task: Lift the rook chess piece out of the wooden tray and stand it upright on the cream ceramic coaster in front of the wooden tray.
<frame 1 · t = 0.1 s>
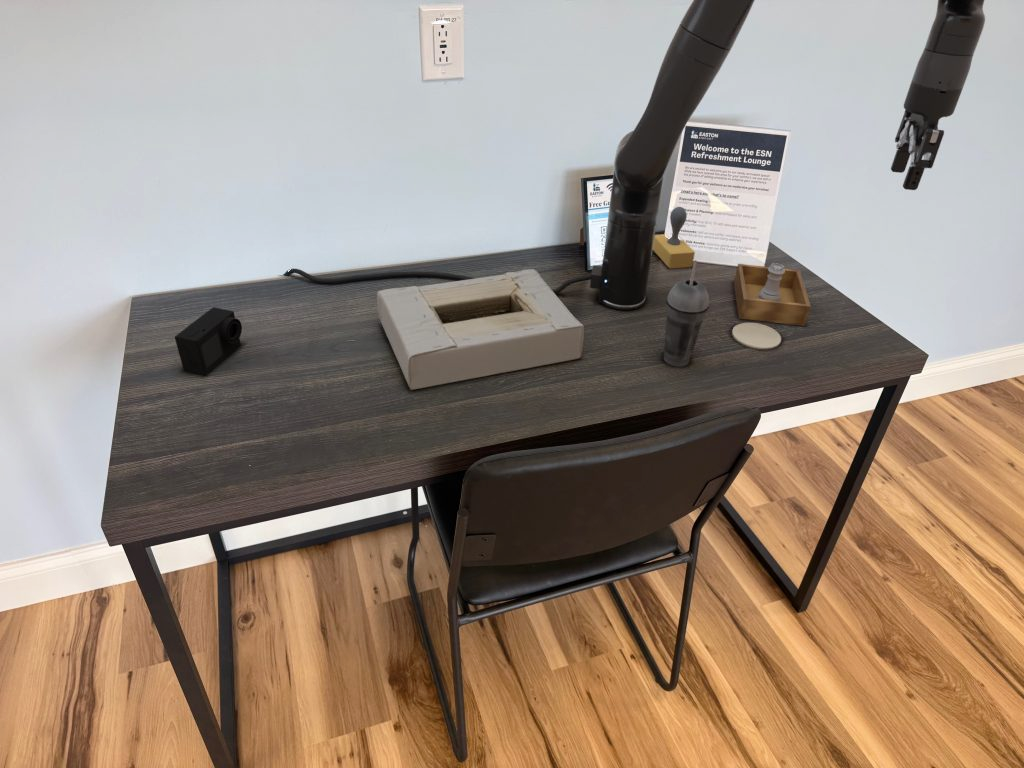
hand: (902, 180, 126), 29 cm above the table, tool pointing down, fingers open, 8 cm apart
digital camera: (216, 359, 127), on the table
wooden tray: (767, 303, 150), on the table
beverage cup: (676, 360, 132), on the table
rubber stamp: (671, 258, 165), on the table
rook chess piece: (767, 302, 149), resting on wooden tray
coaster: (756, 336, 139), on the table
box: (478, 341, 134), on the table
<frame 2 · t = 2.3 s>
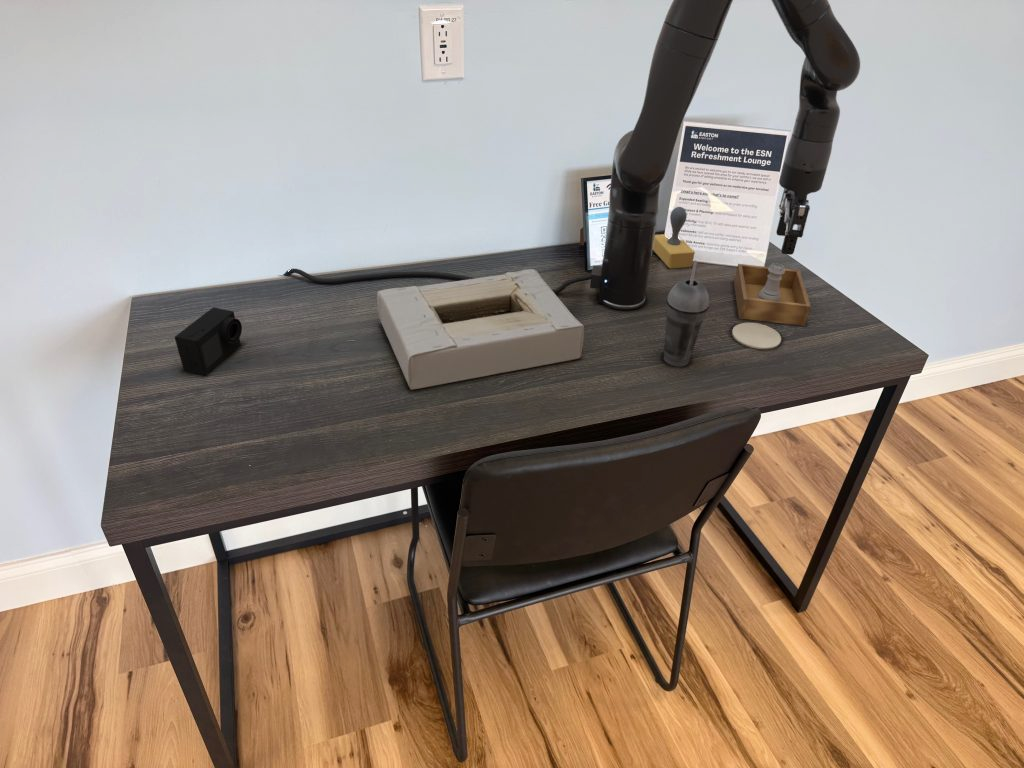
hand: (784, 244, 142), 13 cm above the table, tool pointing down, fingers open, 8 cm apart
nothing on the table moved.
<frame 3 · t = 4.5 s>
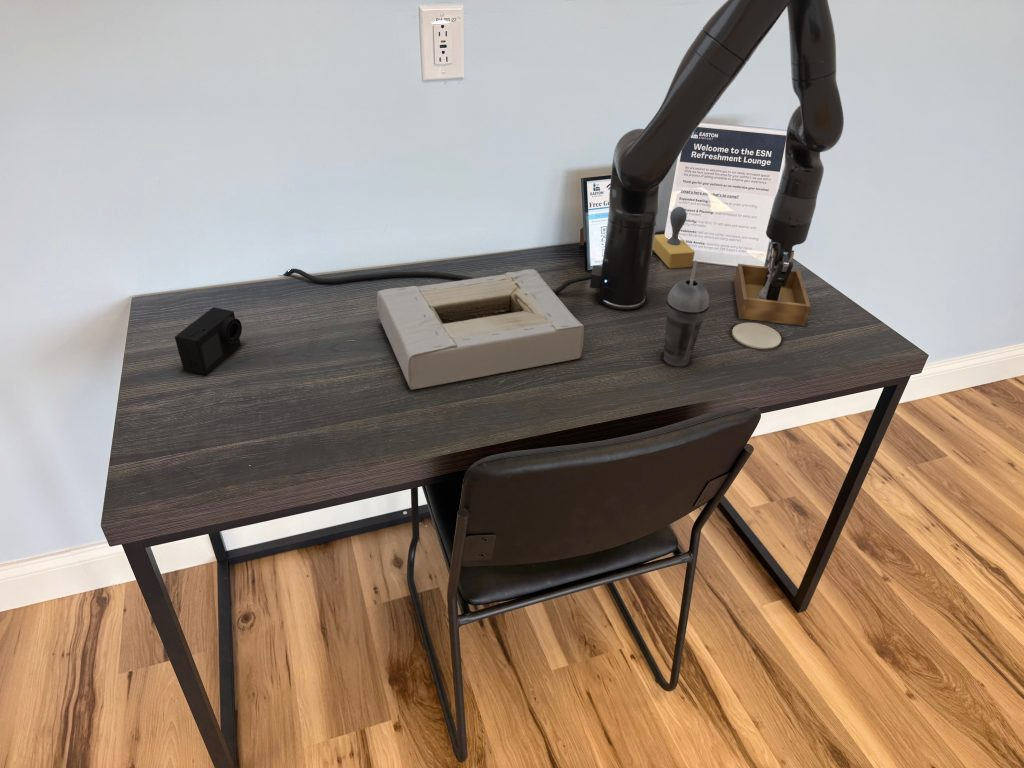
hand: (770, 294, 148), 2 cm above the table, tool pointing down, fingers closed on rook chess piece, 4 cm apart
rook chess piece: (767, 302, 149), resting on wooden tray, touching gripper
everything else where it was.
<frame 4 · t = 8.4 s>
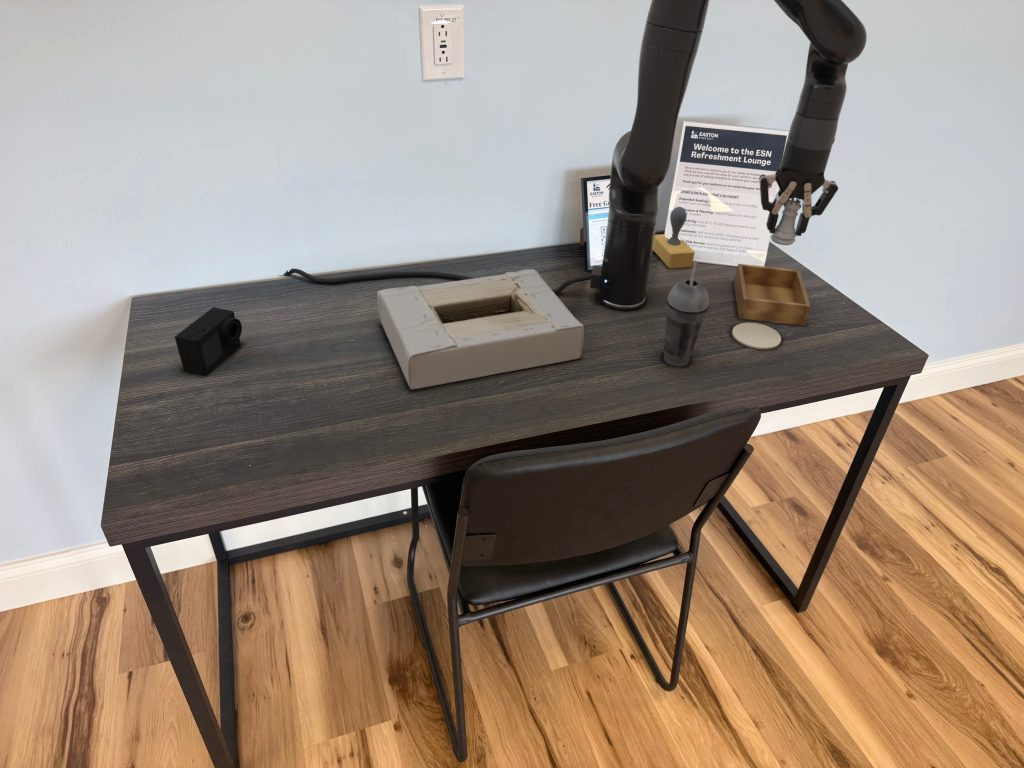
hand: (784, 232, 137), 17 cm above the table, tool pointing down, fingers closed on rook chess piece, 4 cm apart
rook chess piece: (782, 241, 138), point 15 cm above the table, touching gripper
everything else where it was.
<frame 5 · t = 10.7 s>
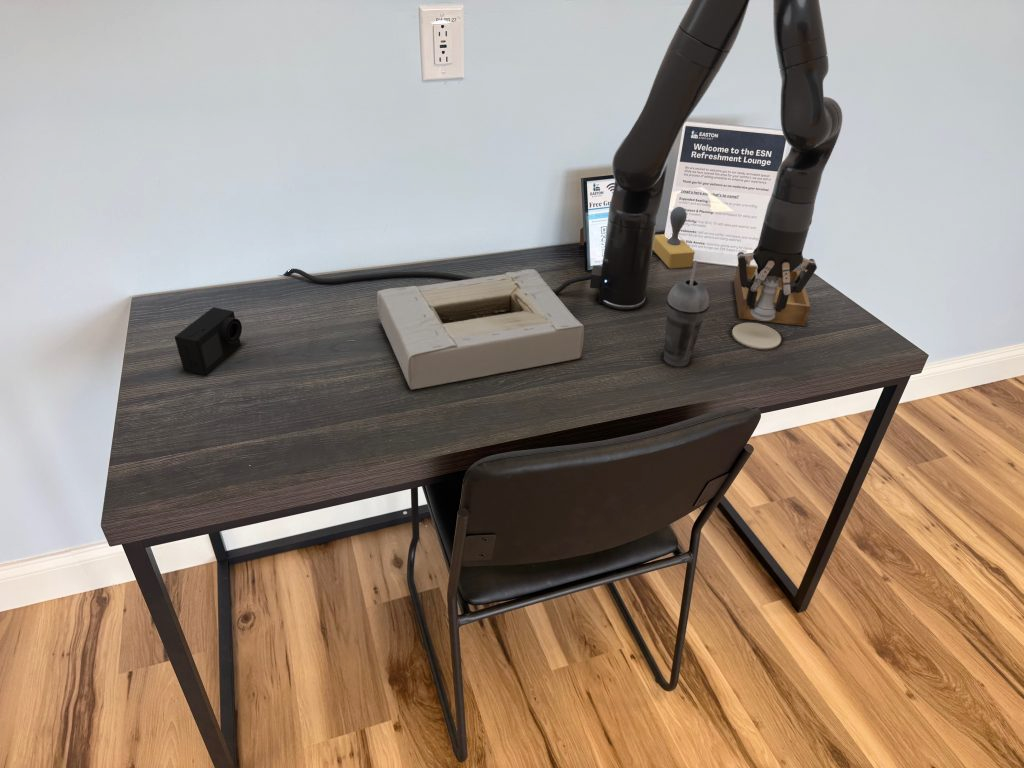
hand: (764, 308, 135), 6 cm above the table, tool pointing down, fingers closed on rook chess piece, 4 cm apart
rook chess piece: (762, 316, 136), point 4 cm above the table, touching gripper
everything else where it was.
when the fingers open (2 cm above the table, at t = 12.3 s): rook chess piece stays where it is, resting on coaster.
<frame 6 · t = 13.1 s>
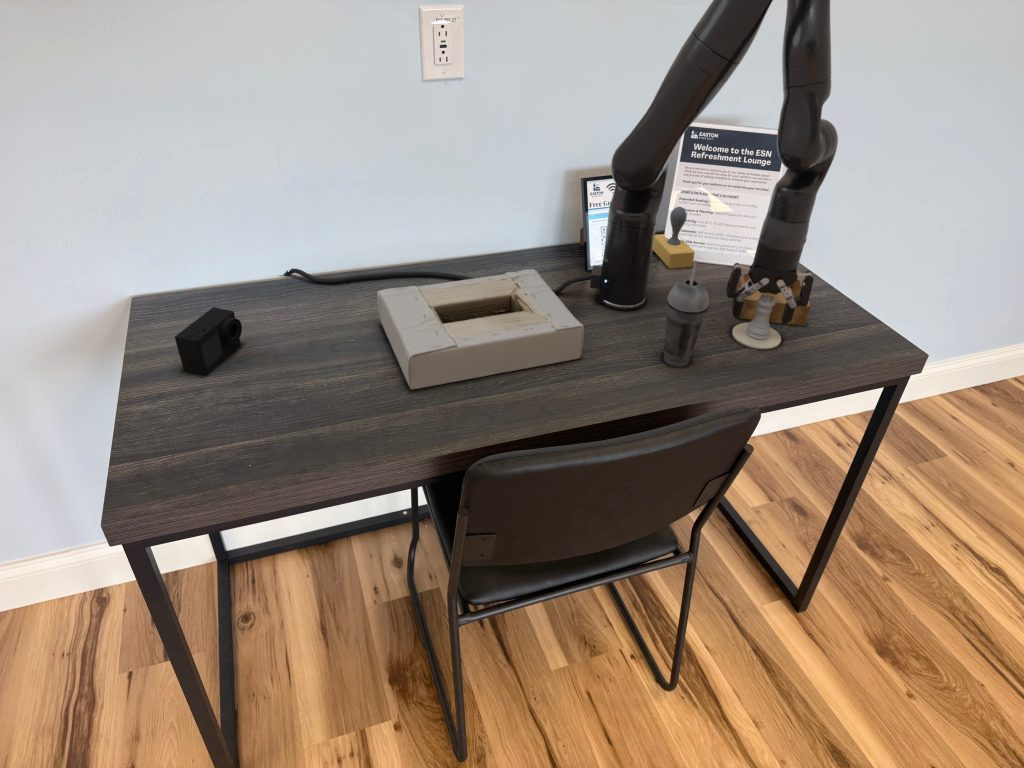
hand: (760, 319, 137), 4 cm above the table, tool pointing down, fingers open, 8 cm apart
rook chess piece: (757, 335, 139), resting on coaster
everything else where it was.
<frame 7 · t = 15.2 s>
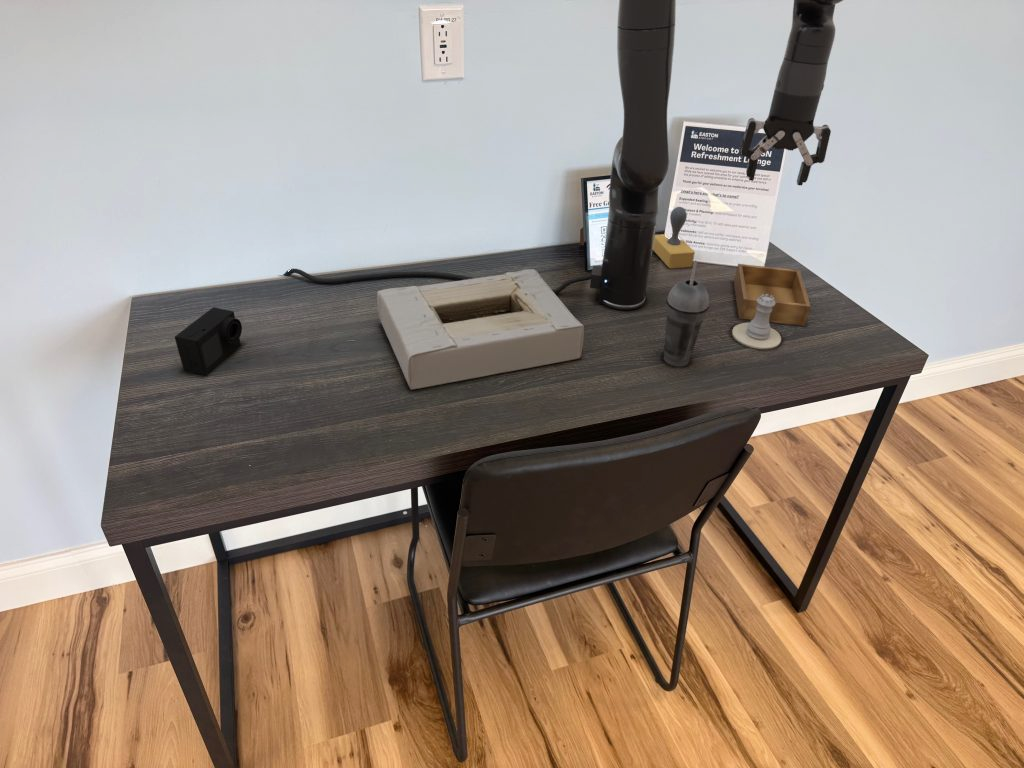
hand: (774, 181, 133), 26 cm above the table, tool pointing down, fingers open, 8 cm apart
nothing on the table moved.
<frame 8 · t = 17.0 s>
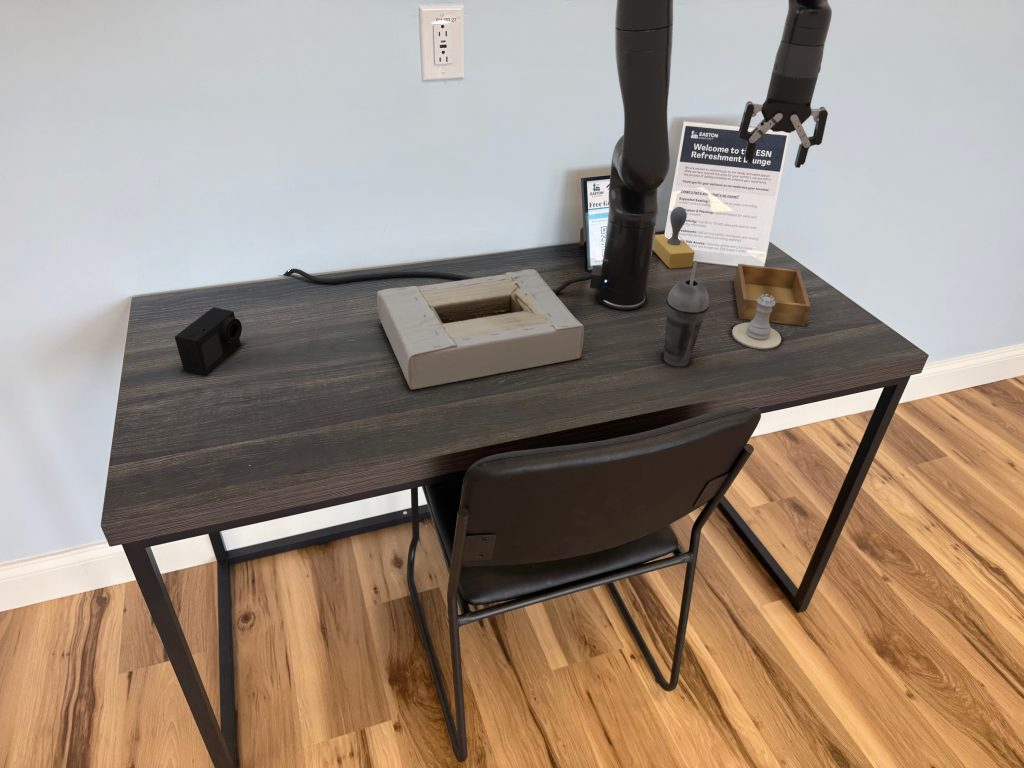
hand: (772, 164, 134), 28 cm above the table, tool pointing down, fingers open, 8 cm apart
nothing on the table moved.
at the end: rook chess piece 0.1 cm off-centre on the coaster, point 0.2 cm above the coaster's base; rook chess piece tilted 0°; rook chess piece touching coaster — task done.
